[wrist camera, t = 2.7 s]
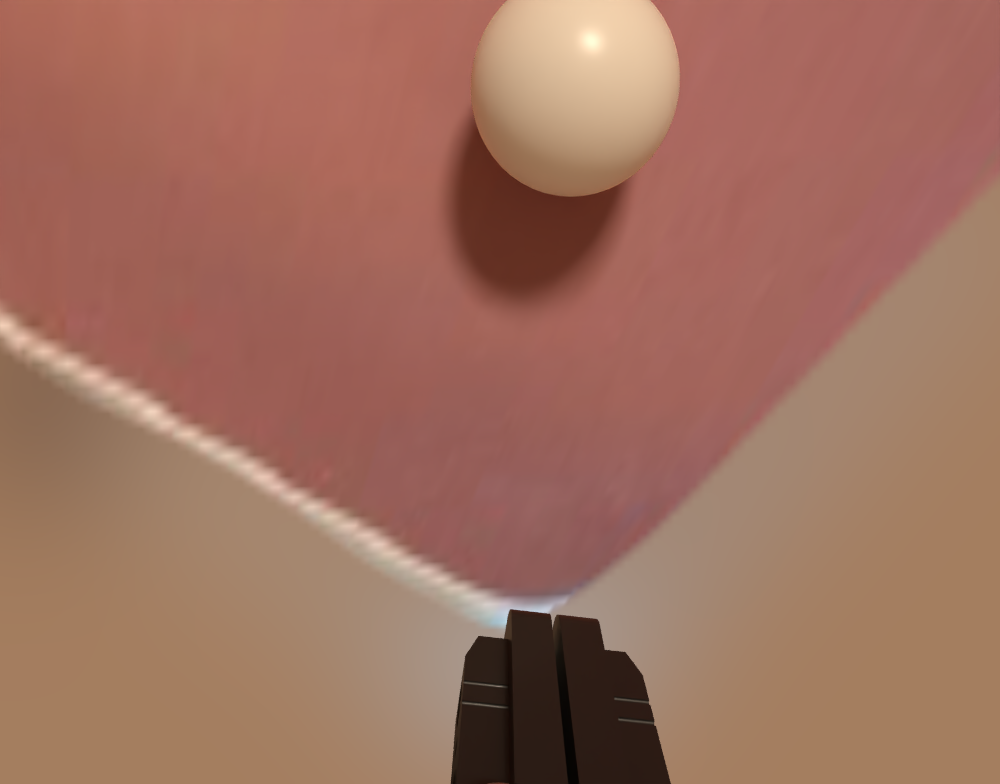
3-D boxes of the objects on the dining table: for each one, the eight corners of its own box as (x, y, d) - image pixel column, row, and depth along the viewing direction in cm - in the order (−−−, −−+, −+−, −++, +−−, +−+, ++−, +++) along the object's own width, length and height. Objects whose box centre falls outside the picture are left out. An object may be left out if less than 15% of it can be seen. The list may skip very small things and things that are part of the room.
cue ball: (544, 224, 25) (557, 251, 19) (437, 76, 23) (416, 57, 17) (690, 113, 23) (750, 107, 18) (587, -52, 22) (617, -118, 16)
